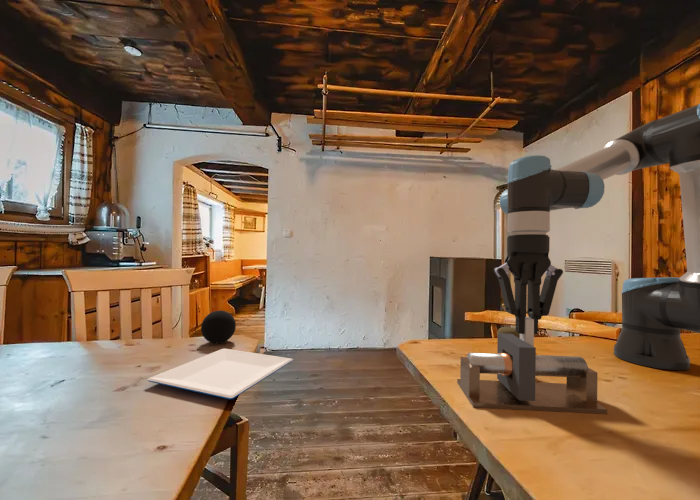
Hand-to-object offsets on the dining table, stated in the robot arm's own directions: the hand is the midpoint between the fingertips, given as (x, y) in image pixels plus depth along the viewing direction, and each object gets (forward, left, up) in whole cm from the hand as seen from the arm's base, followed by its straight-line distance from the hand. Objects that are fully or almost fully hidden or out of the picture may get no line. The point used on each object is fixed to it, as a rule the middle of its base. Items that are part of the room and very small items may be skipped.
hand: (526, 349), depth 63 cm
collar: (+2, 0, -8) cm, 8 cm away
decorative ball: (+79, -28, -10) cm, 85 cm away
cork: (-2, -13, -10) cm, 16 cm away
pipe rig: (0, 0, -10) cm, 10 cm away
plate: (+65, -4, -10) cm, 66 cm away
